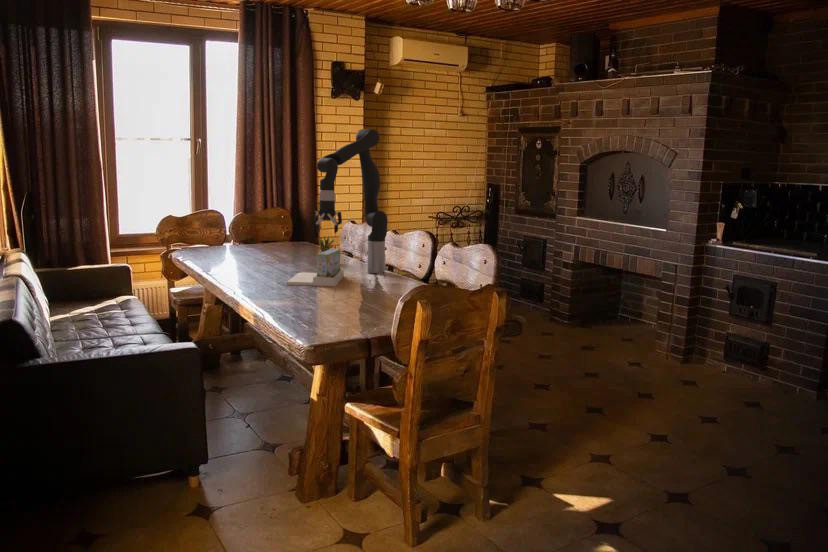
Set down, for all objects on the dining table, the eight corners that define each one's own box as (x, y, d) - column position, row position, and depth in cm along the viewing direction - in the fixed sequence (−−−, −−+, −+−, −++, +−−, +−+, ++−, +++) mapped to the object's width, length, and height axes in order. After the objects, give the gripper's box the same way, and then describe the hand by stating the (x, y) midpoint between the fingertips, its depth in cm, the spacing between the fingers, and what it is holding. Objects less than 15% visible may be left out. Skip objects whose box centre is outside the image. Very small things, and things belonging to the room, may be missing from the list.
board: (322, 275, 359) (322, 273, 359) (311, 285, 334) (311, 282, 334) (299, 275, 360) (299, 272, 360) (287, 284, 335) (286, 281, 334)
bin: (343, 276, 359) (343, 268, 358) (335, 286, 333) (335, 278, 332) (323, 275, 359) (323, 268, 359) (313, 285, 334) (313, 277, 333)
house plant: (340, 265, 392) (340, 236, 389) (316, 266, 388) (315, 237, 386) (337, 261, 405) (337, 233, 402) (313, 262, 402) (313, 233, 399)
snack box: (327, 285, 336) (327, 254, 333) (316, 284, 337) (316, 253, 334) (340, 277, 356) (340, 248, 353) (330, 277, 357) (330, 248, 354)
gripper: (343, 199, 343) (342, 232, 345) (315, 198, 344) (314, 231, 347) (339, 200, 335) (339, 233, 338) (310, 199, 337) (310, 232, 340)
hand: (327, 232), depth 343 cm, fingers open, 8 cm apart
